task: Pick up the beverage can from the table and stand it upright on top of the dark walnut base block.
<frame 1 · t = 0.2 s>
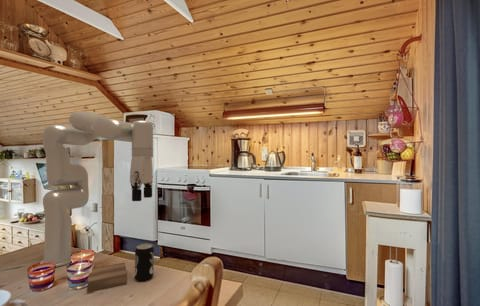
hand: (142, 199, 92), 30 cm above the table, tool pointing down, fingers open, 9 cm apart
walnut base block: (107, 281, 89), on the table
beverage can: (144, 278, 92), on the table
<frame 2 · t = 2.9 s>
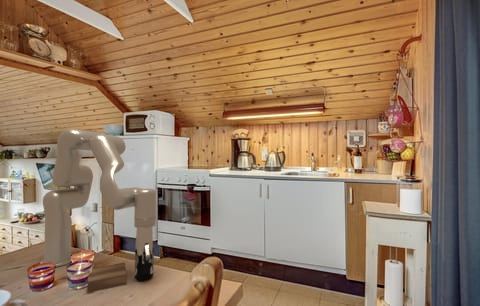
hand: (144, 269, 92), 3 cm above the table, tool pointing down, fingers closed on beverage can, 6 cm apart
beverage can: (144, 278, 92), on the table, touching gripper
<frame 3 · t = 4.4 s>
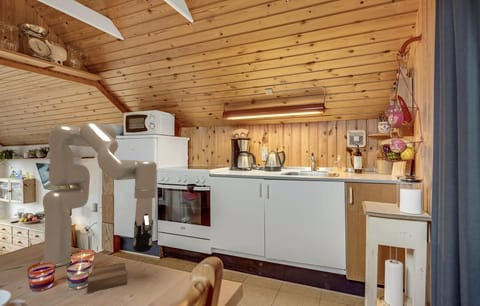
hand: (143, 240, 93), 14 cm above the table, tool pointing down, fingers closed on beverage can, 6 cm apart
beverage can: (142, 250, 92), point 10 cm above the table, touching gripper
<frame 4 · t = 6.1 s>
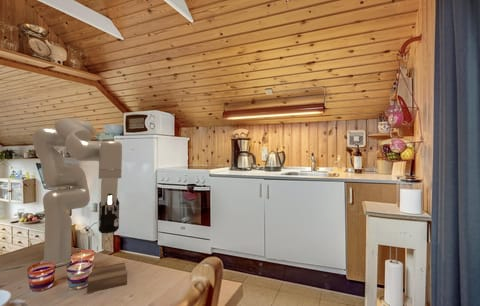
hand: (108, 222, 90), 21 cm above the table, tool pointing down, fingers closed on beverage can, 6 cm apart
beverage can: (108, 231, 90), point 18 cm above the table, touching gripper
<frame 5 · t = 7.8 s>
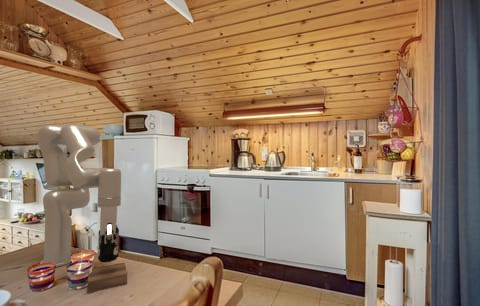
hand: (108, 250, 90), 11 cm above the table, tool pointing down, fingers closed on beverage can, 6 cm apart
beverage can: (108, 260, 90), point 8 cm above the table, touching gripper
when the fingers open (8 cm above the table, at t = 9.4 s): beverage can drops 1 cm, resting on walnut base block.
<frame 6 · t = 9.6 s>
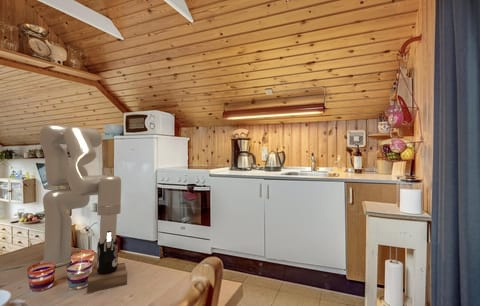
hand: (108, 257, 90), 9 cm above the table, tool pointing down, fingers open, 8 cm apart
beverage can: (107, 271, 90), point 3 cm above the table, touching walnut base block
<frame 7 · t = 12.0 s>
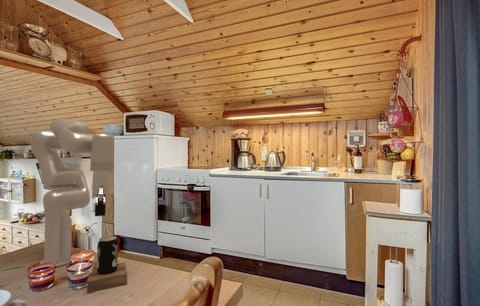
hand: (100, 213, 91), 25 cm above the table, tool pointing down, fingers open, 9 cm apart
nothing on the table moved.
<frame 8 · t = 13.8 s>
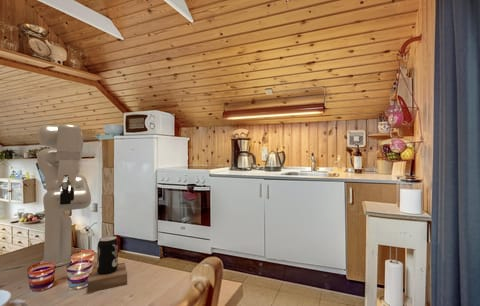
hand: (67, 202, 93), 28 cm above the table, tool pointing down, fingers open, 9 cm apart
nothing on the table moved.
at the end: beverage can inside the target area on the walnut base block (0.3 cm from its centre), point 3.3 cm above the walnut base block's base; beverage can tilted 0°; the gripper is holding nothing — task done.
